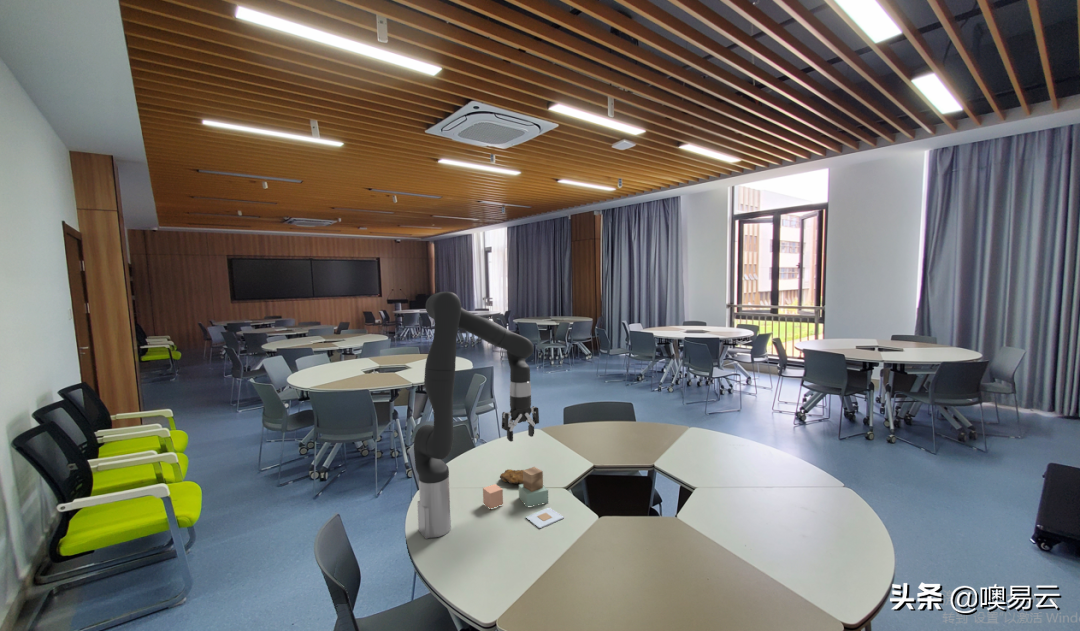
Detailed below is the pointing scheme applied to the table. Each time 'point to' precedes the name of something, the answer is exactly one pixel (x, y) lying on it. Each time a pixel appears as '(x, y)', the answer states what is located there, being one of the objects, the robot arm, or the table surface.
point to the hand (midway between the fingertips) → (520, 438)
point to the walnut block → (532, 479)
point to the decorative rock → (512, 476)
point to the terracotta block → (492, 496)
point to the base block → (533, 496)
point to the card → (544, 517)
